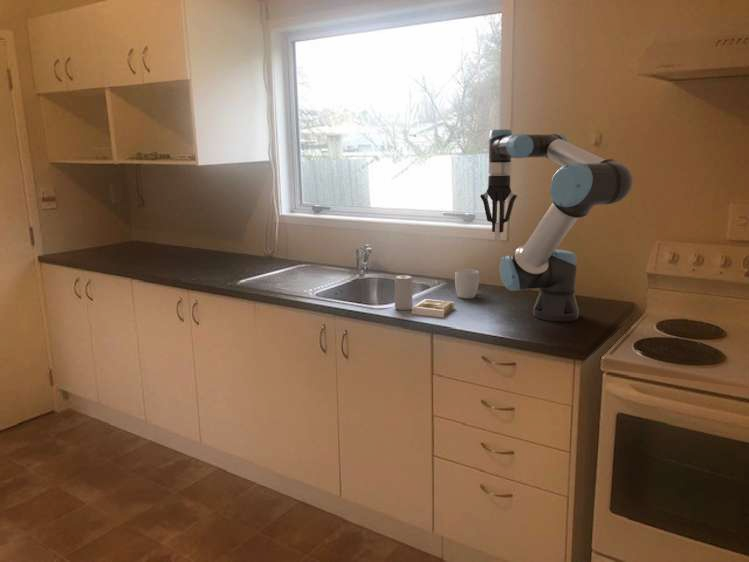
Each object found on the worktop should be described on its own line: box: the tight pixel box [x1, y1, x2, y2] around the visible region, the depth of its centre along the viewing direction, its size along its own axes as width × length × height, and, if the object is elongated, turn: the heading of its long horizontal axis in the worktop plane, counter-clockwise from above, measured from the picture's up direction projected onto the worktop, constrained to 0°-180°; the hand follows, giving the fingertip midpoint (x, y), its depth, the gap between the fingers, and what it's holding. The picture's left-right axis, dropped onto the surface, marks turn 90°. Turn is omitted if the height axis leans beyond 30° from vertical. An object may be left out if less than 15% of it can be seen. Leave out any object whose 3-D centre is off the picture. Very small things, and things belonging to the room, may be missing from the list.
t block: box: [423, 300, 453, 316], centre depth 221 cm, size 9×9×3 cm
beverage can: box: [394, 274, 414, 312], centre depth 225 cm, size 6×6×12 cm
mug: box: [454, 268, 480, 299], centre depth 243 cm, size 13×9×10 cm
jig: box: [411, 298, 456, 318], centre depth 222 cm, size 12×12×2 cm
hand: (497, 241), depth 222 cm, fingers closed
